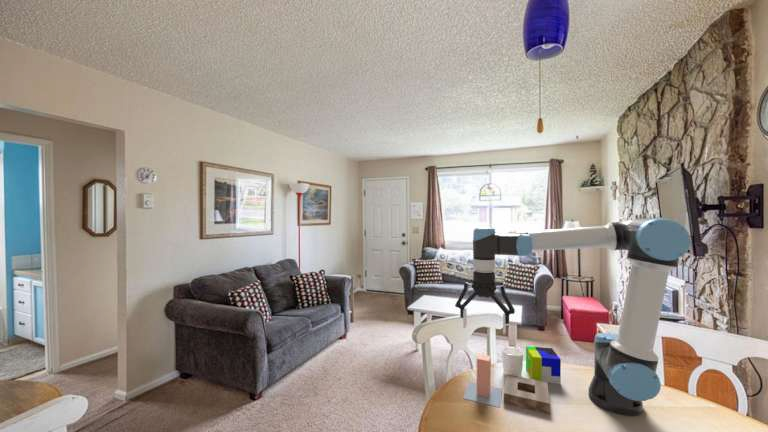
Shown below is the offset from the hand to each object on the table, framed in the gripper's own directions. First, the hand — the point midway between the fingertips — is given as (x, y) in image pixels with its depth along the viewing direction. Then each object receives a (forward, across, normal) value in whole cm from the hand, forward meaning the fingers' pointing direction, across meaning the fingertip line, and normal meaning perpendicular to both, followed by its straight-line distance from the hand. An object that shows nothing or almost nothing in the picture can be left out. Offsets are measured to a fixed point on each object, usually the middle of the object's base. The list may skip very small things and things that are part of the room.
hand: (484, 329), depth 111 cm
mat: (+24, 0, 0) cm, 24 cm away
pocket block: (+24, -14, -4) cm, 28 cm away
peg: (+23, 0, 0) cm, 23 cm away
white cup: (+24, -9, -19) cm, 32 cm away
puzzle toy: (+24, -20, -23) cm, 39 cm away
